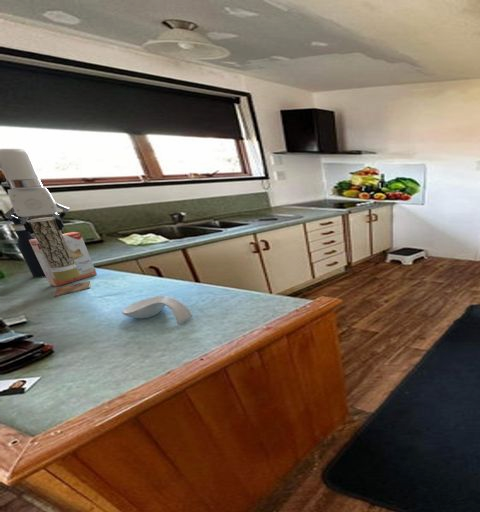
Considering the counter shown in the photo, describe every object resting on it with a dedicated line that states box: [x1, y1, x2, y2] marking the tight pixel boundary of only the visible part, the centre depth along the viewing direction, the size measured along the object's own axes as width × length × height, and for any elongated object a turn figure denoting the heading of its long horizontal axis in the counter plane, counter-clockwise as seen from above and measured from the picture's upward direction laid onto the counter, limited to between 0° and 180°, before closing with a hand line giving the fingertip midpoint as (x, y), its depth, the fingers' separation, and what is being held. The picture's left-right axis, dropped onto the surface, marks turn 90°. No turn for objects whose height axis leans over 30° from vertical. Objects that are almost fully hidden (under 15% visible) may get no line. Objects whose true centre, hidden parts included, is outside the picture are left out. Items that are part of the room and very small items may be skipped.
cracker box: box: [29, 231, 98, 287], centre depth 120 cm, size 14×6×21 cm, turn 161°
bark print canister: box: [27, 216, 80, 281], centre depth 108 cm, size 7×7×25 cm
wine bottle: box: [8, 212, 46, 278], centre depth 126 cm, size 6×6×30 cm
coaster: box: [53, 280, 91, 298], centre depth 114 cm, size 10×10×1 cm
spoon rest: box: [121, 295, 193, 325], centre depth 90 cm, size 24×12×7 cm, turn 73°
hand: (47, 231), depth 106 cm, fingers closed on bark print canister, 6 cm apart
